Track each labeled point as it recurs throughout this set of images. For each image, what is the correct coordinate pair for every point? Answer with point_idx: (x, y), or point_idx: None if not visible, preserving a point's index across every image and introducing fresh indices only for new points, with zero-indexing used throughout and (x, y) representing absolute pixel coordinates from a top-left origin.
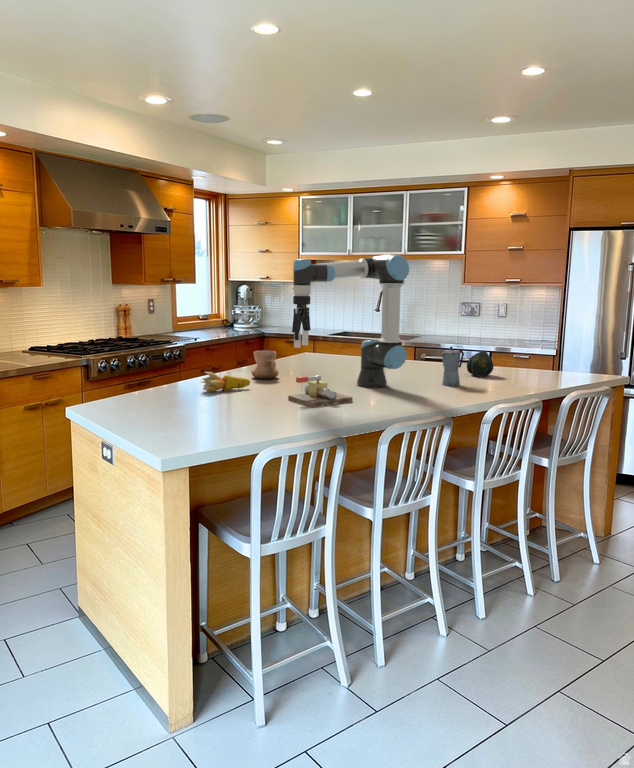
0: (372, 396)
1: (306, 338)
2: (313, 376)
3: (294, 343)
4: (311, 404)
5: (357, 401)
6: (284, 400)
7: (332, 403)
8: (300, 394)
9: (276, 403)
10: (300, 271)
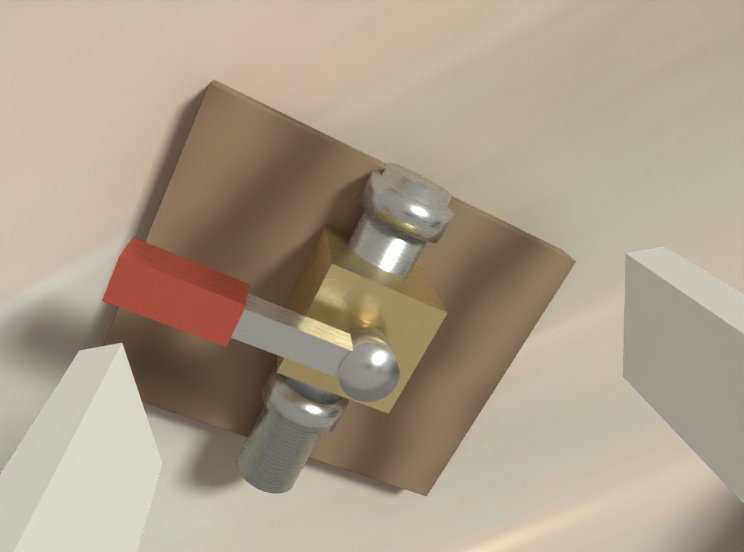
0: (631, 493)
1: (723, 447)
2: (321, 351)
3: (46, 417)
4: None
5: (442, 494)
6: (178, 59)
7: None
8: (315, 153)
9: (23, 65)
10: None
